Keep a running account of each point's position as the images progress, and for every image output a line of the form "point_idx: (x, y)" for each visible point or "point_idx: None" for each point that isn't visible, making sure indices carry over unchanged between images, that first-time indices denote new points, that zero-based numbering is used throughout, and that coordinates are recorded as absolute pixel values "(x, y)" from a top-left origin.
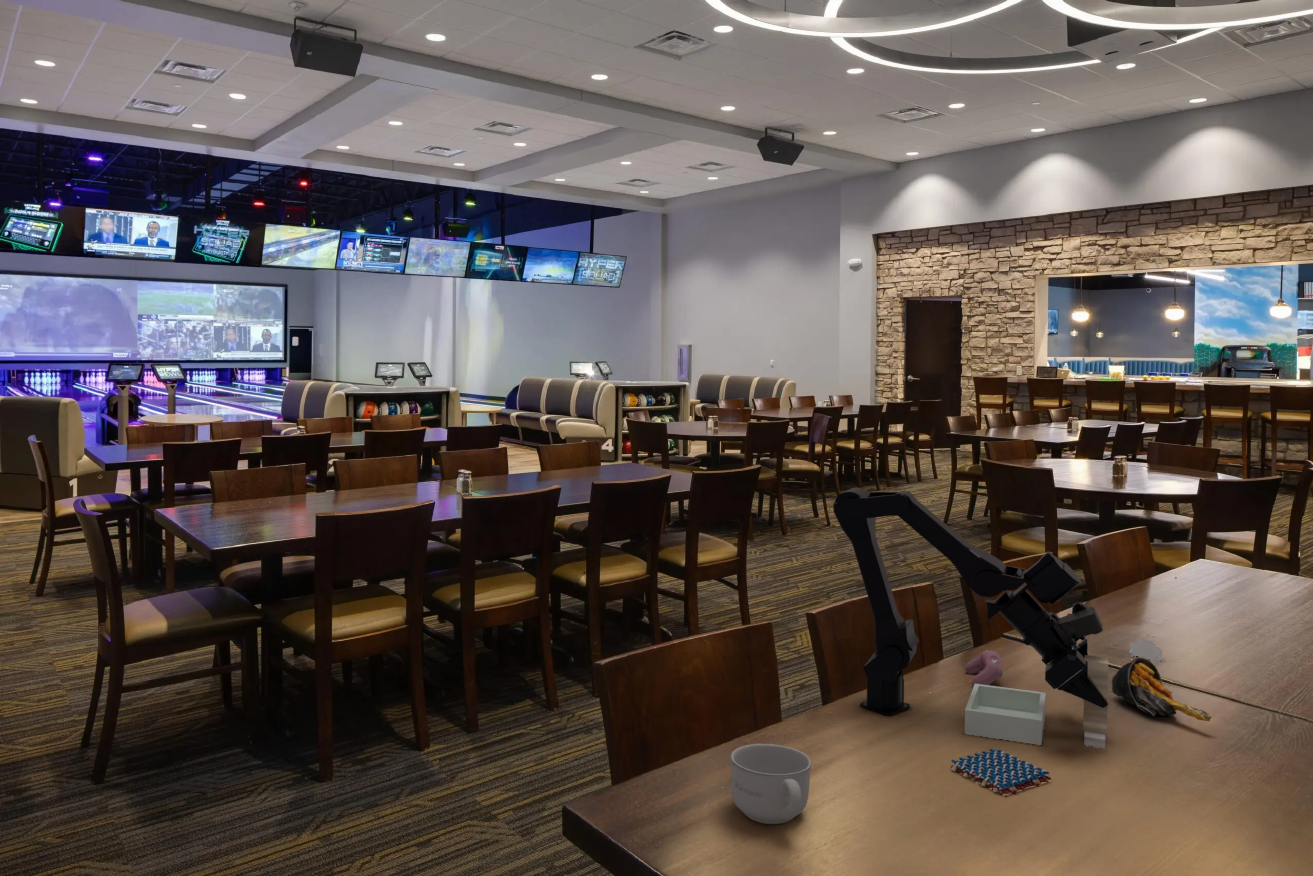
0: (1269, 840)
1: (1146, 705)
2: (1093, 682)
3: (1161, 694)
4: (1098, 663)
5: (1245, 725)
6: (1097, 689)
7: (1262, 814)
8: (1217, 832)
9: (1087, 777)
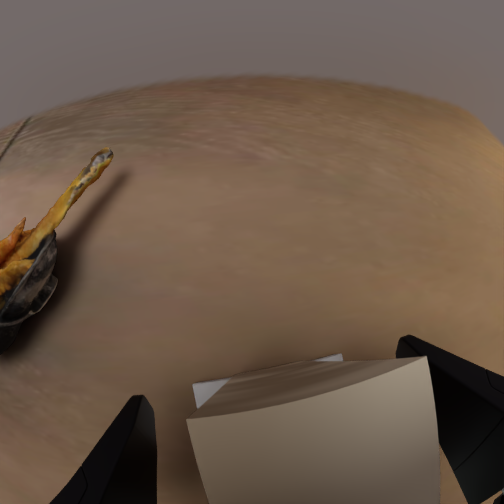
0: (455, 120)
1: (44, 288)
2: (479, 390)
3: (22, 246)
4: (432, 437)
5: (57, 149)
6: (471, 365)
7: (407, 114)
8: (482, 159)
9: (480, 333)
